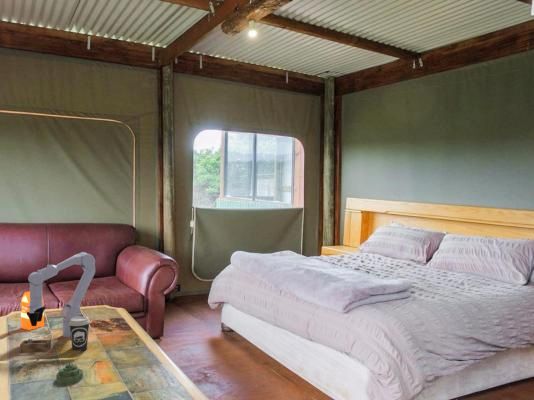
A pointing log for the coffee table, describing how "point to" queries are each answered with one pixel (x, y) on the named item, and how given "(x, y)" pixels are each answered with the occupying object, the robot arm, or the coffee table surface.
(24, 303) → the orange juice
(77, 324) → the coffee cup
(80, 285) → the robot arm
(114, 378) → the coffee table surface
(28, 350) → the walnut link
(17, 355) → the birch board
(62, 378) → the decorative artifact
